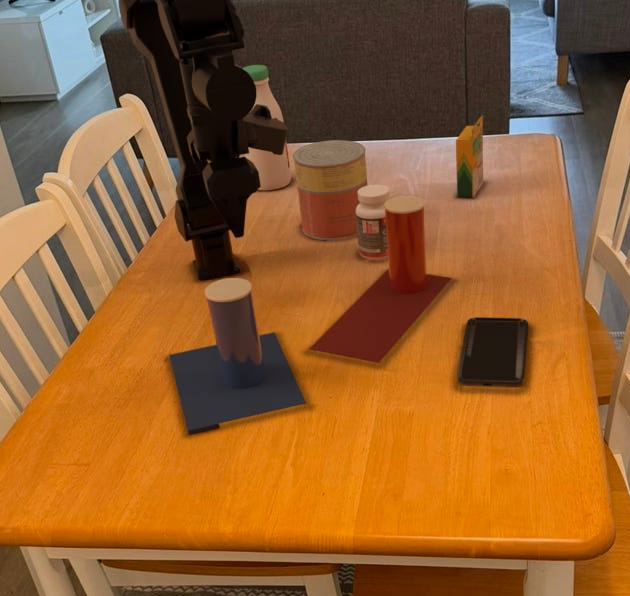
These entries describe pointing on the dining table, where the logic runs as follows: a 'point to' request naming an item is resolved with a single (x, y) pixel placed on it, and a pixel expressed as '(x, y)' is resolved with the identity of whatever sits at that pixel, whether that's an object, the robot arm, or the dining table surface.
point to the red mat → (377, 320)
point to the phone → (493, 352)
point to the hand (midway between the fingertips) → (233, 223)
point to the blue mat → (227, 402)
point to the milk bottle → (268, 164)
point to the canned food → (330, 187)
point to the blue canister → (236, 332)
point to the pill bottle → (372, 221)
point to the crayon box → (470, 160)
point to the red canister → (406, 244)
